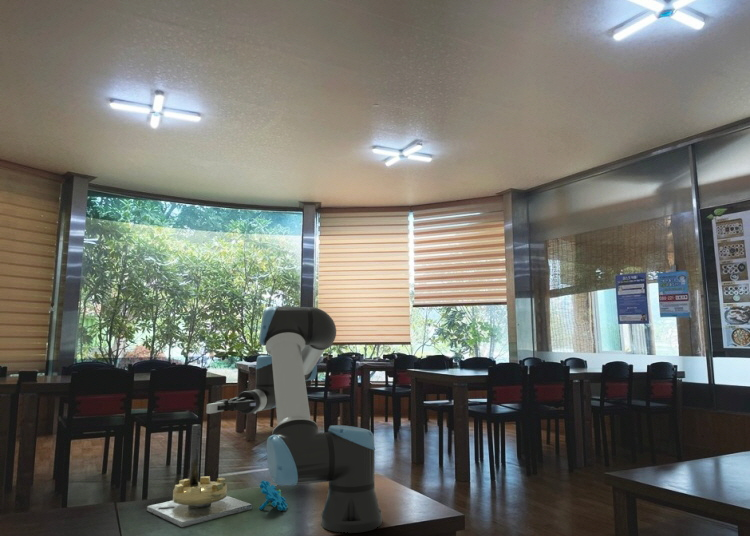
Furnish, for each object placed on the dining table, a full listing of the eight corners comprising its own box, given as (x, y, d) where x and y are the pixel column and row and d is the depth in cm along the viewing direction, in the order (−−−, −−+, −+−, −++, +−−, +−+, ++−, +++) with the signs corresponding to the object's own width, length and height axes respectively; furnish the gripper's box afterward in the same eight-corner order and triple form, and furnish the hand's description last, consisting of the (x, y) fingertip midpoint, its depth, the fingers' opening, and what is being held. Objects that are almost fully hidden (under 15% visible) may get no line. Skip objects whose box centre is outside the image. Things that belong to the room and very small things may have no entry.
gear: (282, 510, 132) (258, 480, 135) (265, 527, 131) (242, 496, 135) (294, 504, 143) (272, 476, 146) (279, 519, 142) (257, 491, 145)
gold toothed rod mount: (234, 498, 137) (237, 427, 140) (181, 508, 129) (185, 432, 132) (216, 487, 148) (218, 422, 152) (166, 496, 140) (170, 426, 143)
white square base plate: (251, 509, 139) (251, 498, 139) (181, 527, 124) (182, 515, 125) (214, 495, 152) (214, 485, 153) (147, 510, 138) (147, 499, 138)
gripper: (267, 413, 172) (226, 422, 150) (234, 412, 176) (189, 421, 154) (268, 390, 173) (227, 396, 151) (235, 390, 177) (191, 395, 155)
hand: (208, 408), depth 152 cm, fingers closed
